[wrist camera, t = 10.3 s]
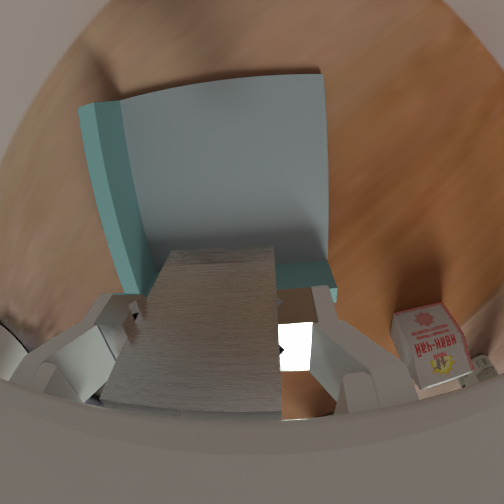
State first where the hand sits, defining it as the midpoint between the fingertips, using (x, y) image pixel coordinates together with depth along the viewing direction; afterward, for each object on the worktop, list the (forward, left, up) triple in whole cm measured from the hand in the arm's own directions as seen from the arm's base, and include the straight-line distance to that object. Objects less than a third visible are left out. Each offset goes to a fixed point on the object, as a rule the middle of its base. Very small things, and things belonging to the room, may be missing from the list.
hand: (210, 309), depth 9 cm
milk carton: (+19, -18, -18) cm, 32 cm away
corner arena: (-2, -1, -18) cm, 18 cm away
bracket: (0, -2, -3) cm, 4 cm away
